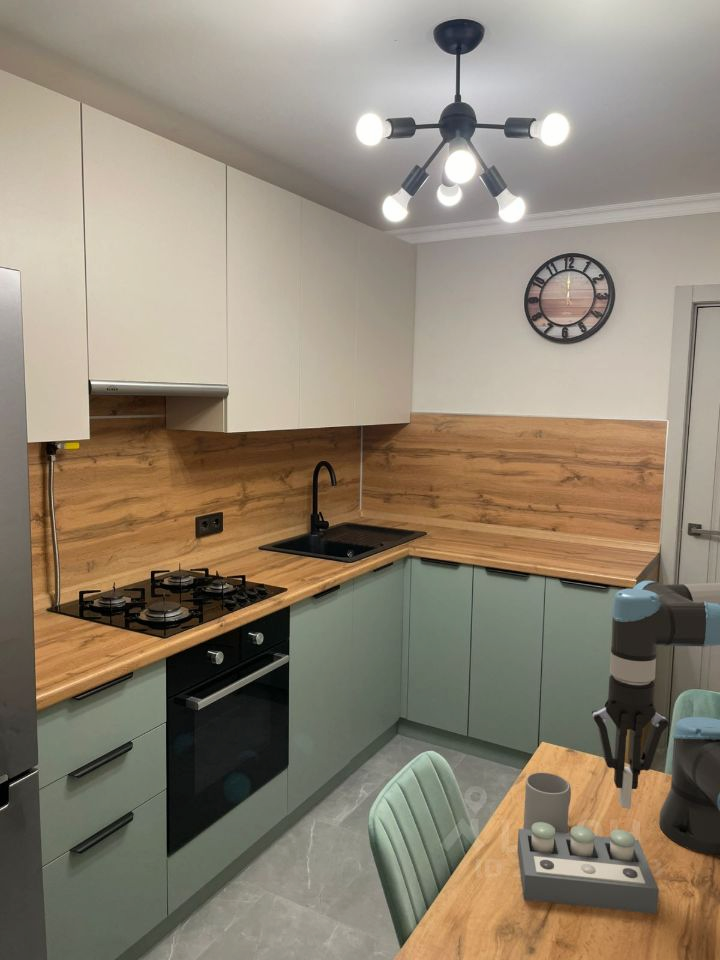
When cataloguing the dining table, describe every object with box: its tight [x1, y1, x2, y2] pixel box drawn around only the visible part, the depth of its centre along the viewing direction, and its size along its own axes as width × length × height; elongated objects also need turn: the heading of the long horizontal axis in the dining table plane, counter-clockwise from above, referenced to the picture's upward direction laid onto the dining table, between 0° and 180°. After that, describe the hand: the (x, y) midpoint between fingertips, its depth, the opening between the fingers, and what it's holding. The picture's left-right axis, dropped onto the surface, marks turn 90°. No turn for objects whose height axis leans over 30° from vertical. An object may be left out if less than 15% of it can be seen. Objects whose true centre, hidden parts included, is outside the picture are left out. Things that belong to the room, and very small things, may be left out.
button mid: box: [570, 825, 596, 858], centre depth 132 cm, size 4×4×4 cm
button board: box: [517, 828, 660, 915], centre depth 130 cm, size 22×14×4 cm, turn 82°
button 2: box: [609, 829, 636, 862], centre depth 131 cm, size 4×4×4 cm
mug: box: [522, 772, 572, 833], centre depth 145 cm, size 12×8×11 cm
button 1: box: [531, 822, 555, 854], centre depth 133 cm, size 4×4×4 cm
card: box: [534, 856, 645, 885], centre depth 126 cm, size 18×4×1 cm, turn 82°
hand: (624, 804), depth 130 cm, fingers closed
